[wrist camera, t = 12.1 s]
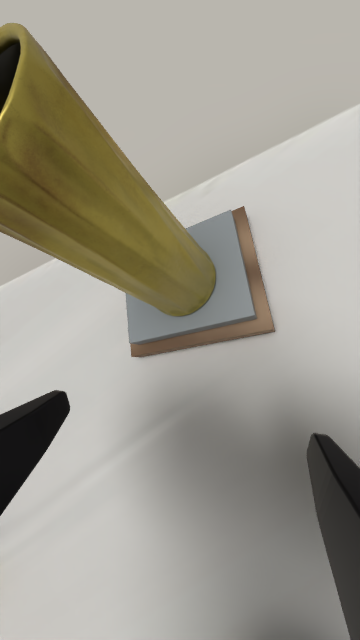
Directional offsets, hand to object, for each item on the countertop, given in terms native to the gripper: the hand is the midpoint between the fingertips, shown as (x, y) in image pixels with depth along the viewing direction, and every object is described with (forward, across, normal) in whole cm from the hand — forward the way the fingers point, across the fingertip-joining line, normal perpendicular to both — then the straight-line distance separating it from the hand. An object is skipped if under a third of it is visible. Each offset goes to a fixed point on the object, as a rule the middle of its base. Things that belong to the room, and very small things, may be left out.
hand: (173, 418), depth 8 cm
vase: (+12, +3, -2) cm, 13 cm away
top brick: (+14, +3, -1) cm, 14 cm away
